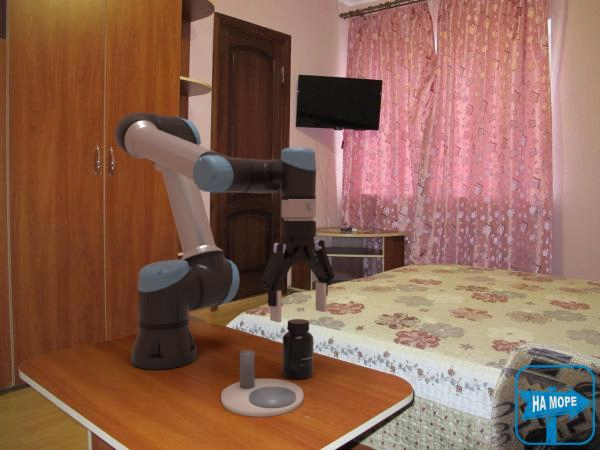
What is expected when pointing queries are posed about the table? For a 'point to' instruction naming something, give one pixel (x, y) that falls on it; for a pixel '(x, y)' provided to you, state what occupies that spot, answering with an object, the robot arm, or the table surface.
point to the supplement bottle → (297, 350)
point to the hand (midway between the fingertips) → (299, 316)
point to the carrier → (260, 392)
